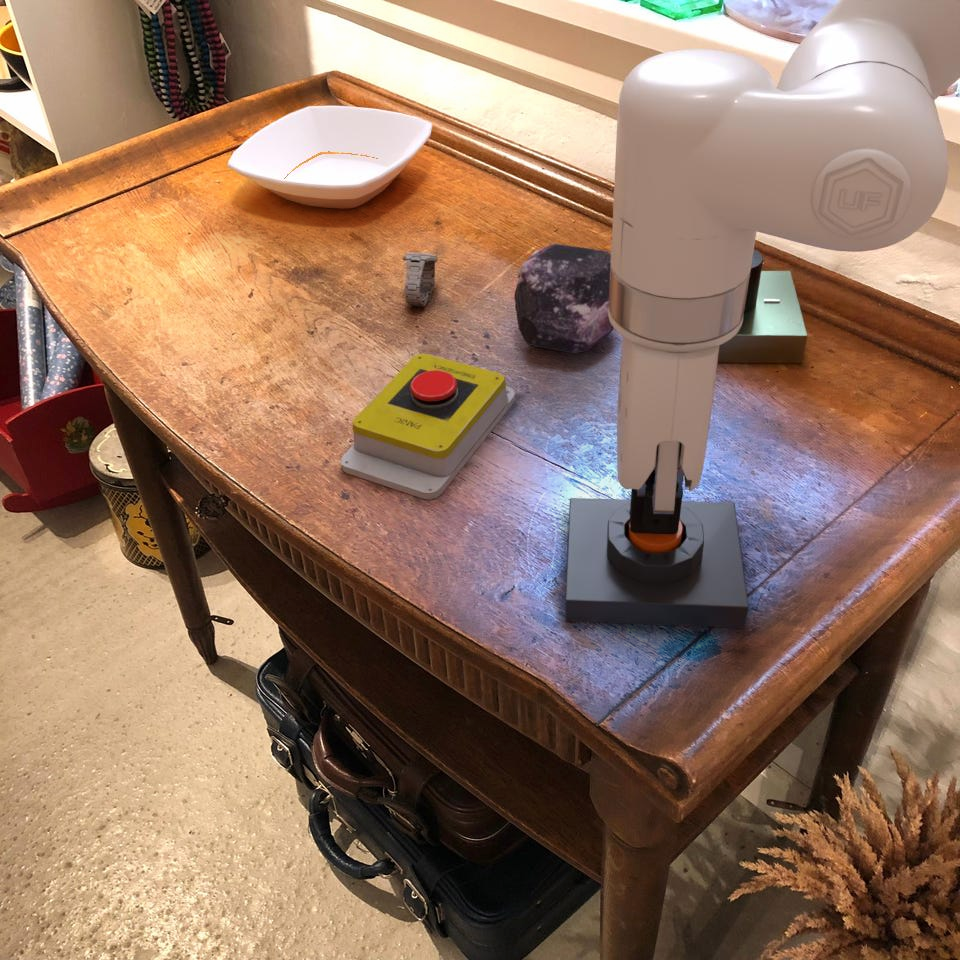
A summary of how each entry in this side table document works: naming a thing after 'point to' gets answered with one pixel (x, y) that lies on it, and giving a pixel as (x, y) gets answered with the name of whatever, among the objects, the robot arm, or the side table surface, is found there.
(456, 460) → the emergency button
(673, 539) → the button
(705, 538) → the button block
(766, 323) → the panel
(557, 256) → the mineral specimen
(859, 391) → the side table surface
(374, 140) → the bowl
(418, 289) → the wristwatch
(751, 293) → the knob
